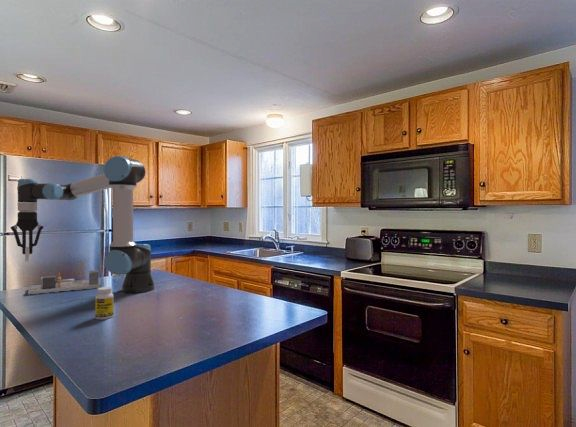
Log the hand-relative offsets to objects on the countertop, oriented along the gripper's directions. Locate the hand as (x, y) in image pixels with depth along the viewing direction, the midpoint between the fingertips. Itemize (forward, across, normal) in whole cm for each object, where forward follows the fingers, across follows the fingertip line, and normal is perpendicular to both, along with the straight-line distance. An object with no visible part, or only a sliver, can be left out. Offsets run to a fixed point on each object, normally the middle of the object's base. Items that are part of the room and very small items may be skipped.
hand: (27, 260), depth 169 cm
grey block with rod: (+13, -12, -2) cm, 18 cm away
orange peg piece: (+13, -13, -6) cm, 19 cm away
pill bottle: (+15, -28, +60) cm, 68 cm away
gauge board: (+16, -16, -2) cm, 22 cm away
